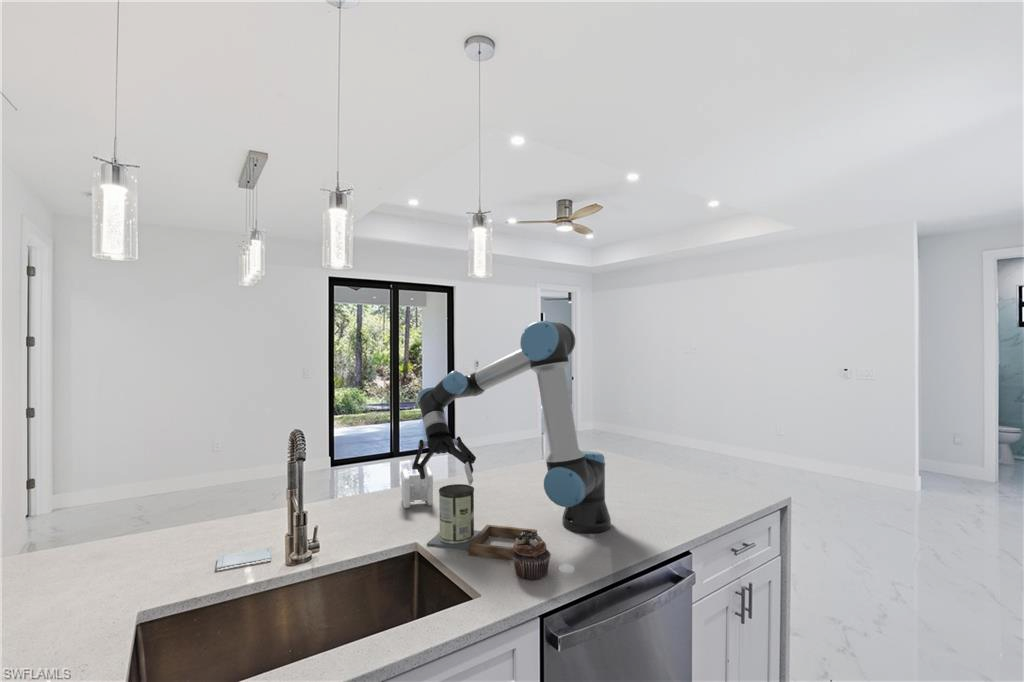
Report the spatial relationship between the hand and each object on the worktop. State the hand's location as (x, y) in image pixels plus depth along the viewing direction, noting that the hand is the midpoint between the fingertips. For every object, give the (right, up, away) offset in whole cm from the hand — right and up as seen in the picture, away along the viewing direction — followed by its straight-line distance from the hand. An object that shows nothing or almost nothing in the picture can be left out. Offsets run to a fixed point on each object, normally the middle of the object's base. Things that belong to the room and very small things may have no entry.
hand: (450, 485), depth 147 cm
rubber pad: (+3, -14, -5) cm, 15 cm away
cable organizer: (-16, -15, +28) cm, 36 cm away
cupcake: (+24, -14, -27) cm, 38 cm away
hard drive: (-52, -15, -19) cm, 57 cm away
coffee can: (+3, -14, -5) cm, 15 cm away
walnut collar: (+17, -14, -11) cm, 24 cm away
